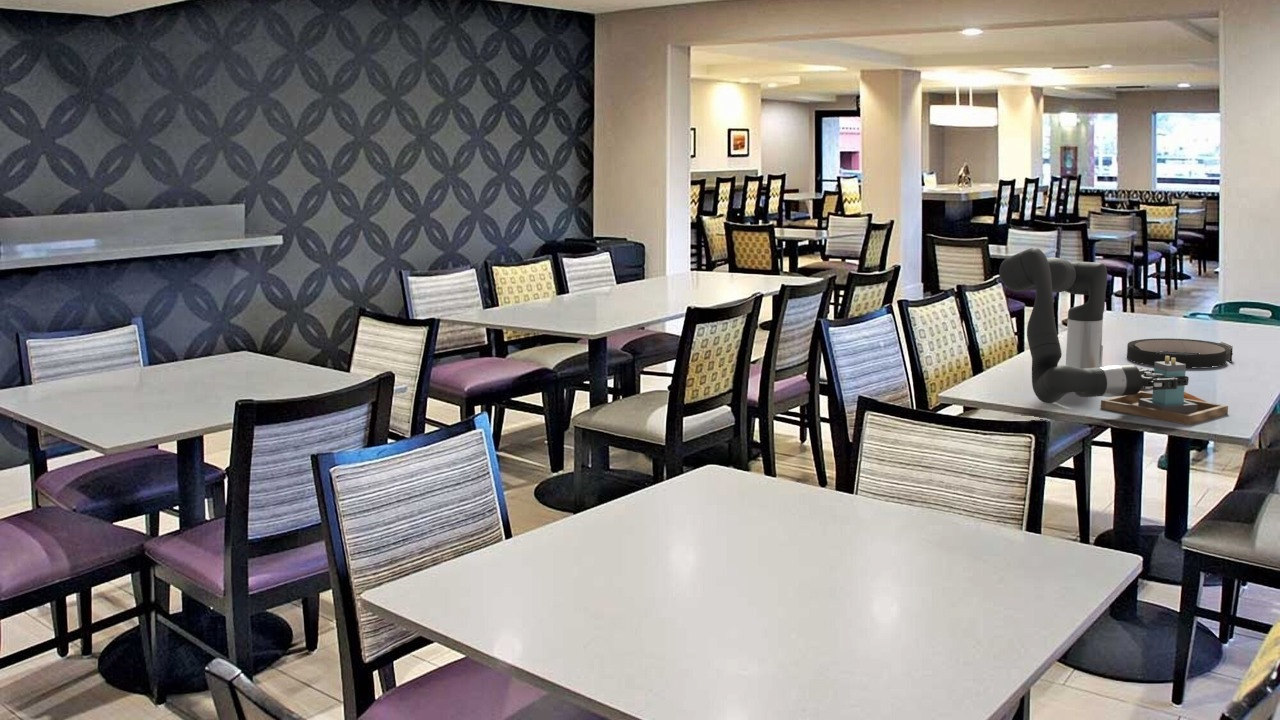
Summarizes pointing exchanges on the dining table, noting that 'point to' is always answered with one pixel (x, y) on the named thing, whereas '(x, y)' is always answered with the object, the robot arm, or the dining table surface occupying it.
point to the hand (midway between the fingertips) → (1176, 377)
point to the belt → (1208, 351)
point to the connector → (1168, 370)
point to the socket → (1170, 406)
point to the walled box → (1131, 406)
